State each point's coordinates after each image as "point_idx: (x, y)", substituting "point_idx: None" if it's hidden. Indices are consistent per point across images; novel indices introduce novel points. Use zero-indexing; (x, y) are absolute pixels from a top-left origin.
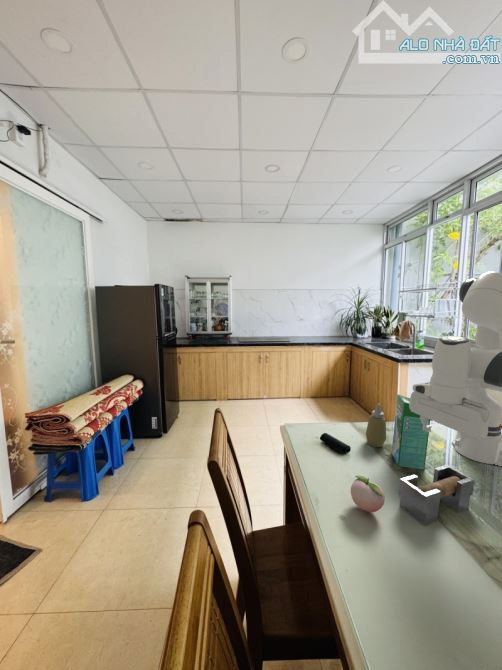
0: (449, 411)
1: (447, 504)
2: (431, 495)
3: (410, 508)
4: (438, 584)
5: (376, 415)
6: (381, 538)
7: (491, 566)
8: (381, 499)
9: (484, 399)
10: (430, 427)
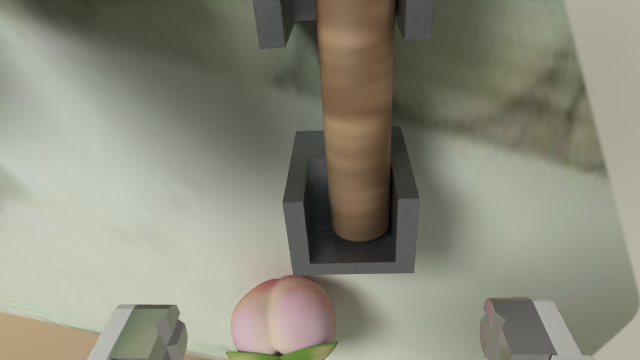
0: None
1: None
2: (415, 244)
3: None
4: (520, 284)
5: None
6: (382, 302)
7: (584, 135)
8: (331, 327)
9: None
10: (160, 353)
